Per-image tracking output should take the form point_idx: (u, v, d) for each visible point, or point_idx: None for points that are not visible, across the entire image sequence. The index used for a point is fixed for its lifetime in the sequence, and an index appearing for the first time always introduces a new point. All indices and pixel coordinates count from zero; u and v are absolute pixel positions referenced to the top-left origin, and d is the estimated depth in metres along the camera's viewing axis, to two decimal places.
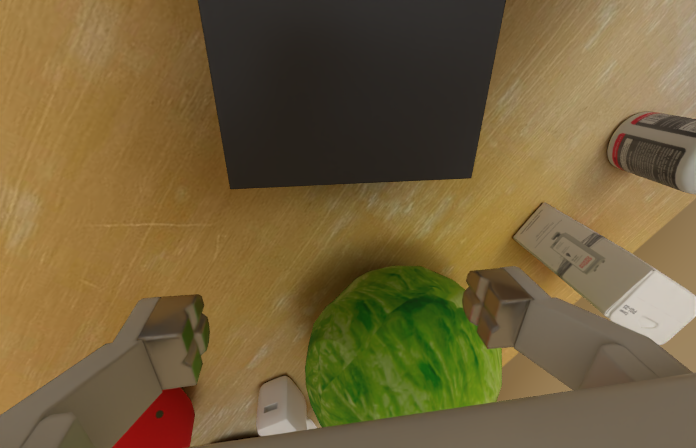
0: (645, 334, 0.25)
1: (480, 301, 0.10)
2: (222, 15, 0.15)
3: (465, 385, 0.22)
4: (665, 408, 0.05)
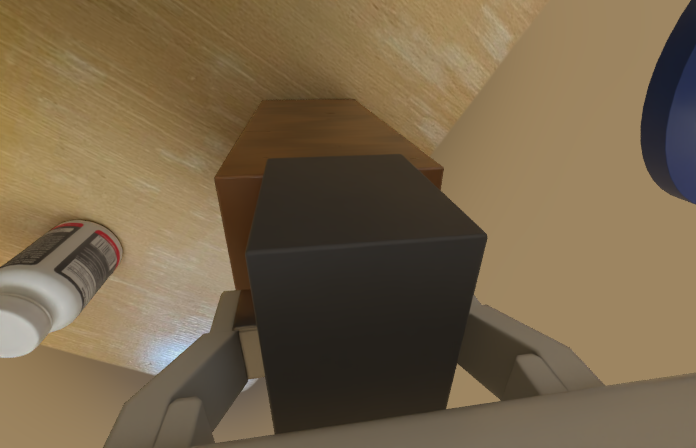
0: None
1: None
2: None
3: None
4: (665, 408, 0.05)
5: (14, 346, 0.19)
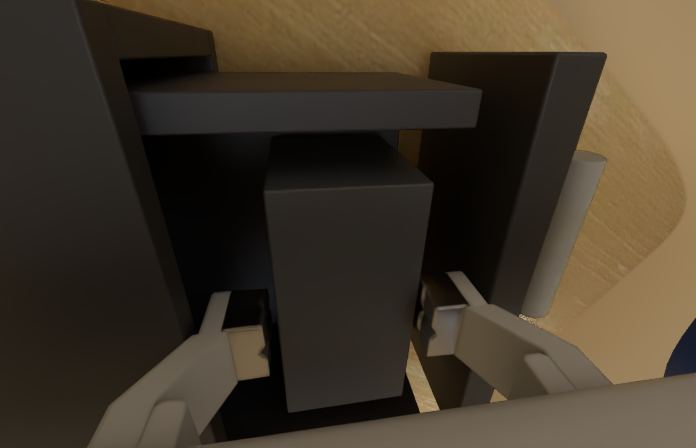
0: None
1: (422, 307, 0.10)
2: None
3: None
4: (665, 408, 0.05)
5: None
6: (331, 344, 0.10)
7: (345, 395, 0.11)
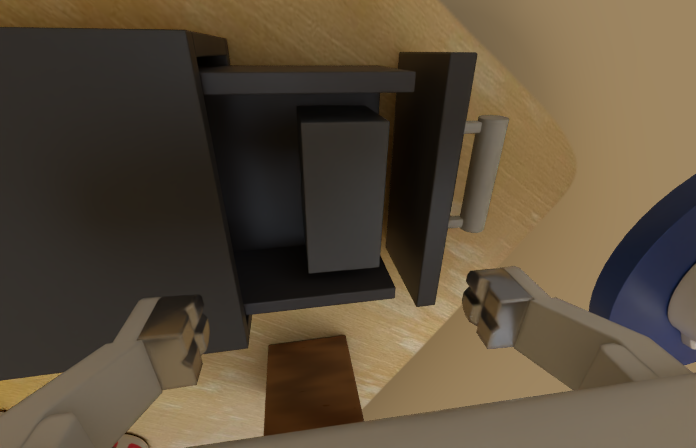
0: None
1: (480, 301, 0.10)
2: None
3: None
4: (665, 408, 0.05)
5: None
6: (335, 223, 0.17)
7: (343, 263, 0.18)
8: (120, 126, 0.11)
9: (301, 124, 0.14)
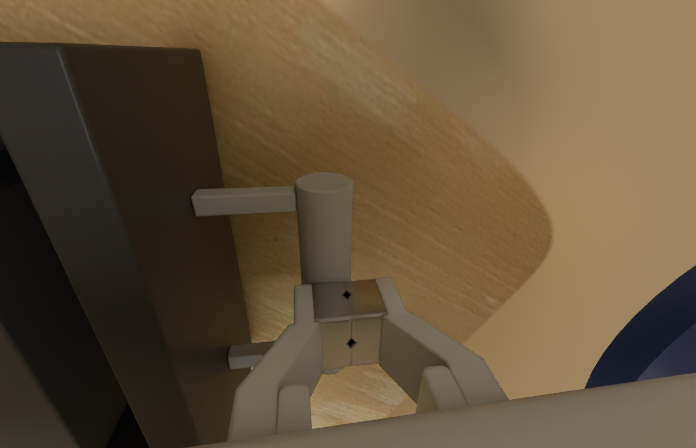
0: None
1: None
2: None
3: None
4: (665, 408, 0.05)
5: None
6: None
7: None
8: None
9: None
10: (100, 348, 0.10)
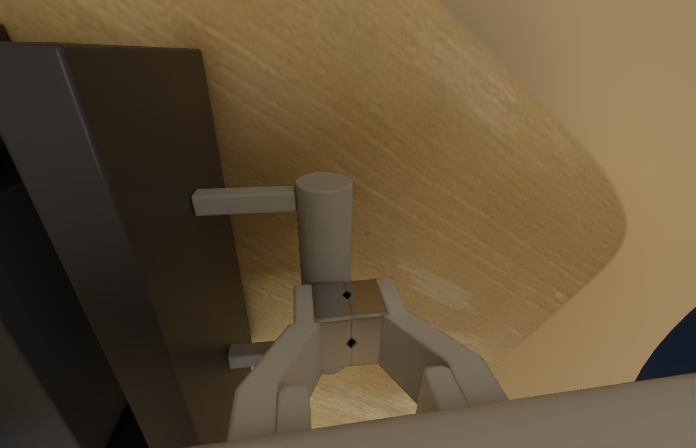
0: None
1: None
2: None
3: None
4: (665, 408, 0.05)
5: None
6: None
7: None
8: None
9: None
10: (100, 347, 0.10)
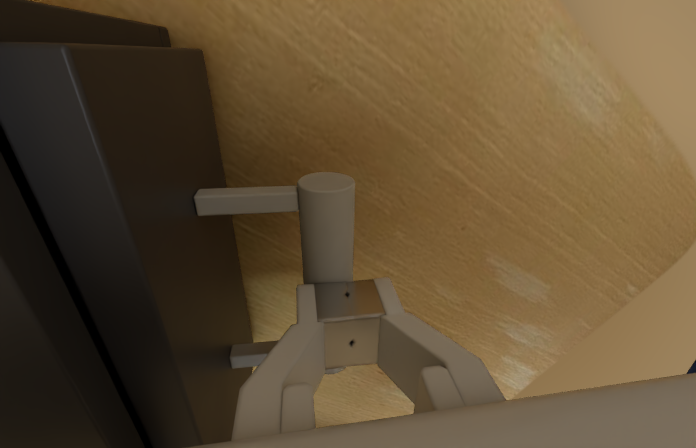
0: None
1: None
2: None
3: None
4: (665, 409, 0.05)
5: None
6: None
7: None
8: None
9: None
10: (103, 348, 0.10)
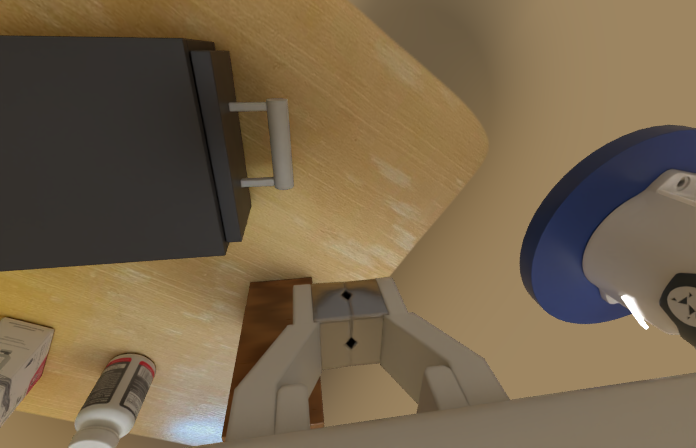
0: None
1: None
2: (45, 56, 0.18)
3: None
4: (665, 408, 0.05)
5: None
6: None
7: None
8: (143, 94, 0.19)
9: None
10: None
